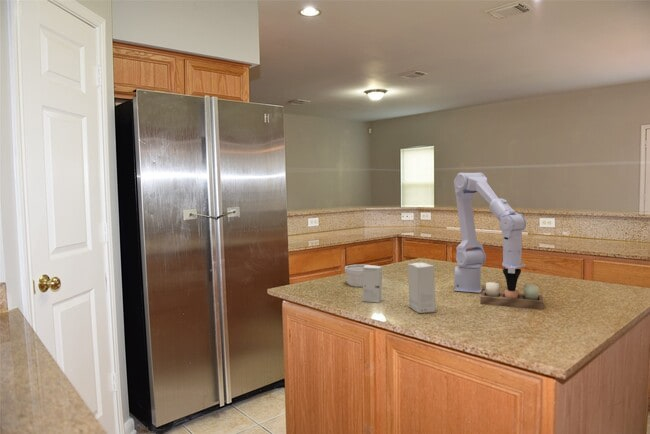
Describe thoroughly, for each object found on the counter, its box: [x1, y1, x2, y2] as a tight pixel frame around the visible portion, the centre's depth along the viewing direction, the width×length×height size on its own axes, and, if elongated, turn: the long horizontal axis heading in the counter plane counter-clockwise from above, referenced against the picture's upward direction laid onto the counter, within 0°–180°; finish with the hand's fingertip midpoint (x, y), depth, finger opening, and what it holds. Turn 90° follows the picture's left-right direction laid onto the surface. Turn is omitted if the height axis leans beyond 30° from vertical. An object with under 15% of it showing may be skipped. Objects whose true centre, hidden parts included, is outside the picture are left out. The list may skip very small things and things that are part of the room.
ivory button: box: [485, 281, 500, 297], centre depth 155 cm, size 4×4×4 cm
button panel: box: [479, 290, 544, 310], centre depth 153 cm, size 19×9×2 cm, turn 67°
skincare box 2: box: [407, 261, 437, 314], centre depth 147 cm, size 8×6×15 cm
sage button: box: [523, 284, 539, 300], centre depth 151 cm, size 4×4×4 cm
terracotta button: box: [504, 288, 519, 298], centre depth 153 cm, size 4×4×4 cm
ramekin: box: [344, 264, 366, 288], centre depth 185 cm, size 13×13×7 cm
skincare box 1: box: [362, 264, 383, 303], centre depth 158 cm, size 6×4×12 cm
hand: (511, 290), depth 153 cm, fingers closed, pressing on terracotta button
